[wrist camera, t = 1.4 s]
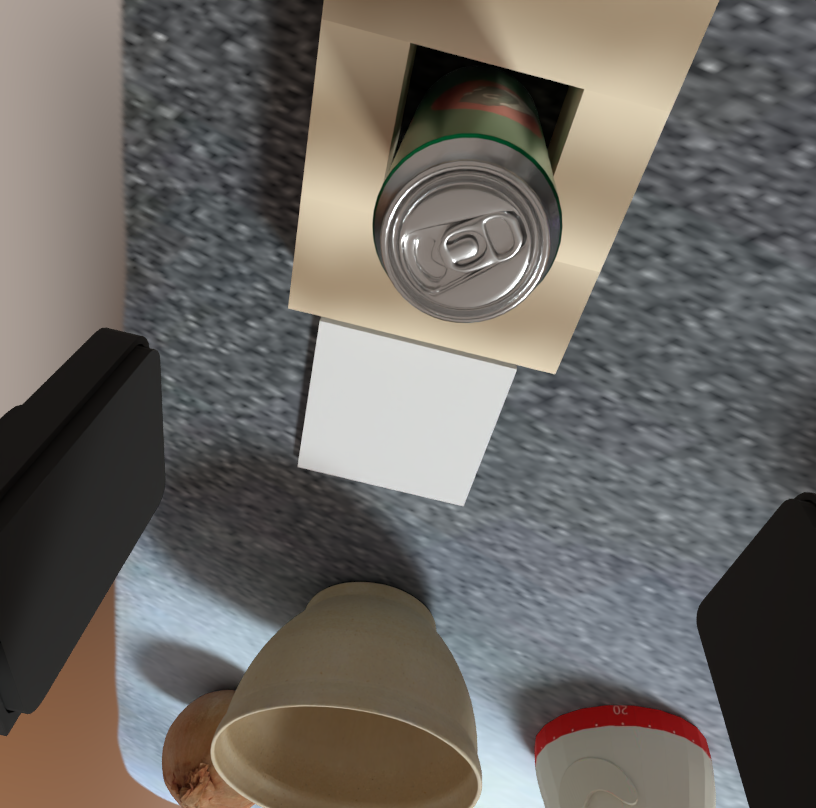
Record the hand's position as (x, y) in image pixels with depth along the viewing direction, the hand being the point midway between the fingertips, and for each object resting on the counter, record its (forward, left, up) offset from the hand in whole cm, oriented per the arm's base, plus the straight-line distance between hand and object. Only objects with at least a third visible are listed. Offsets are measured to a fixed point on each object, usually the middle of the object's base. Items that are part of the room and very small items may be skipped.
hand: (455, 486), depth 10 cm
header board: (0, 0, -20) cm, 20 cm away
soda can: (0, 0, -21) cm, 21 cm away
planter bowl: (+34, +2, -21) cm, 39 cm away
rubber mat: (+15, 0, -20) cm, 25 cm away
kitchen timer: (+44, +25, -21) cm, 54 cm away
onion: (+50, -7, -21) cm, 54 cm away
